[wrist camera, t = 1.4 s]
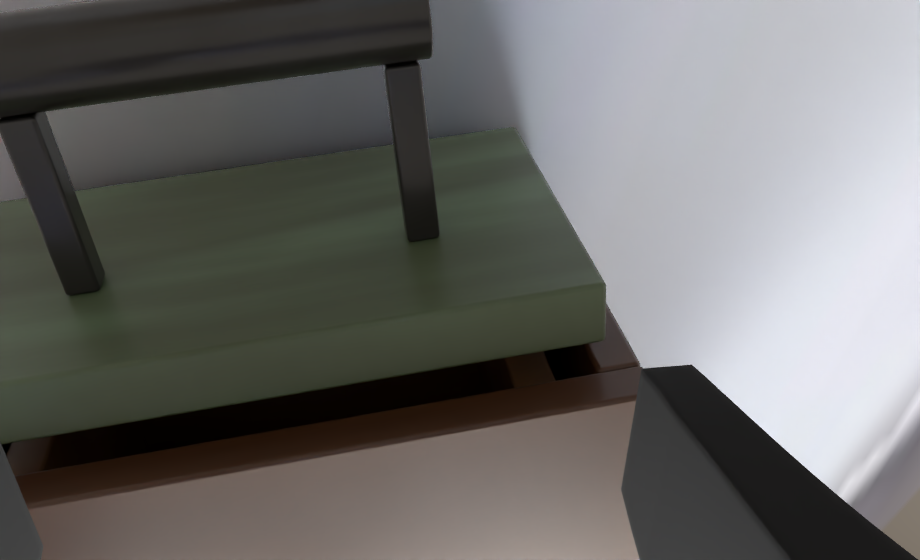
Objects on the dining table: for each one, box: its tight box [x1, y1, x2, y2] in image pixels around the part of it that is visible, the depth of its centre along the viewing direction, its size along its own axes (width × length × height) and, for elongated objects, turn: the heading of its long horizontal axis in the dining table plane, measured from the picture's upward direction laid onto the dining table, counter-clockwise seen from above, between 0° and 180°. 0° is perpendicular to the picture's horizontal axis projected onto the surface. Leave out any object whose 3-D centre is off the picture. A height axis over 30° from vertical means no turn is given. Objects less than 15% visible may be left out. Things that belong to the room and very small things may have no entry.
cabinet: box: [2, 304, 643, 560], centre depth 21 cm, size 15×13×9 cm
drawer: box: [0, 0, 606, 476], centre depth 18 cm, size 18×11×7 cm, turn 5°
